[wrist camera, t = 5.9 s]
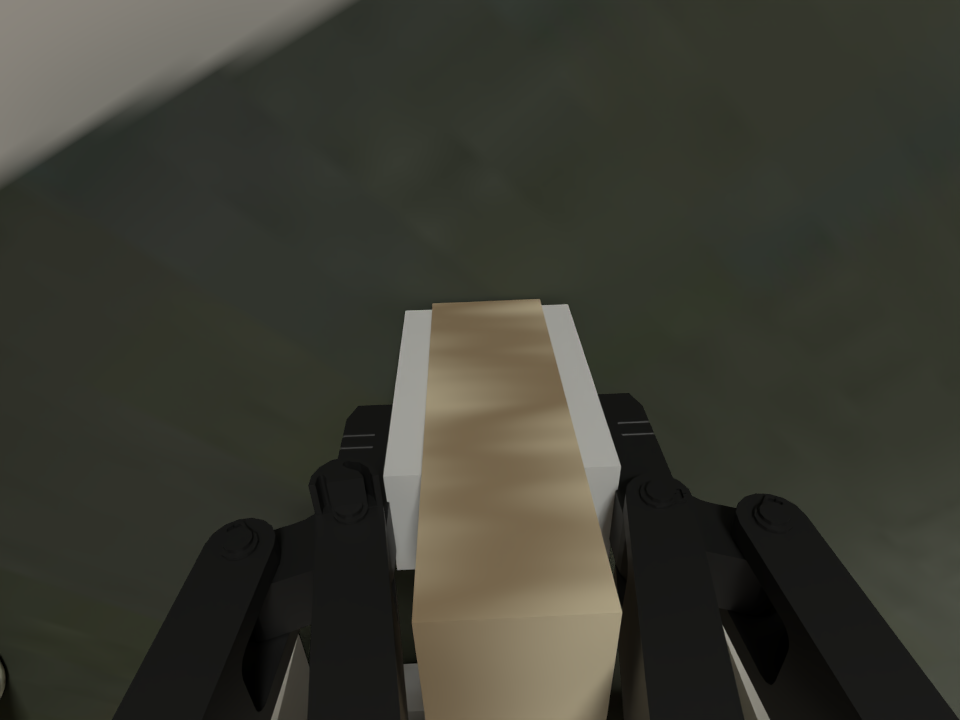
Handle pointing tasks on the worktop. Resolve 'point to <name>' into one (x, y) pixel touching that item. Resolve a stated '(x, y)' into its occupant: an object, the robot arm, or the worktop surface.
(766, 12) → the worktop surface
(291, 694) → the cabinet
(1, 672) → the coffee can
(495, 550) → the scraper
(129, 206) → the worktop surface
